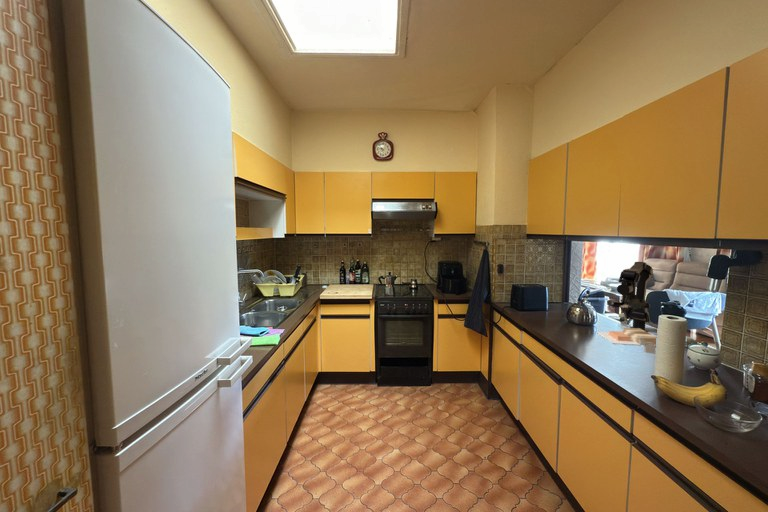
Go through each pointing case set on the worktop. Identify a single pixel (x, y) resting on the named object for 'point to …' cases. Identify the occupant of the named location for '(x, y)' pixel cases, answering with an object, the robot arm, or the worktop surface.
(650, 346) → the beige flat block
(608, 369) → the worktop surface
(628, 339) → the tile
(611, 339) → the mat
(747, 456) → the worktop surface
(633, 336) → the board
